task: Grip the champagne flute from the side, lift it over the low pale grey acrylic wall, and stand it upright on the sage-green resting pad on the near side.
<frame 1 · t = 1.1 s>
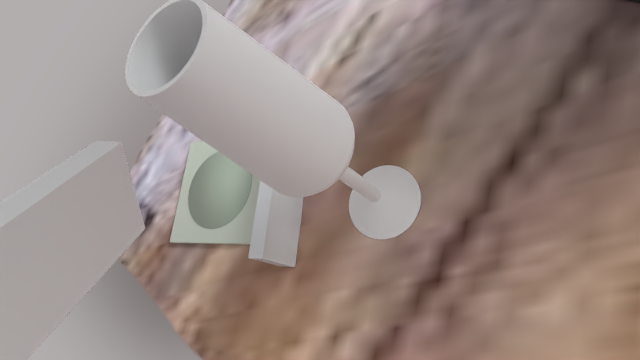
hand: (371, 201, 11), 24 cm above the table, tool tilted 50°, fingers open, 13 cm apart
resting pad: (222, 189, 47), on the table
low wall: (297, 194, 42), on the table
champagne flute: (384, 202, 37), on the table
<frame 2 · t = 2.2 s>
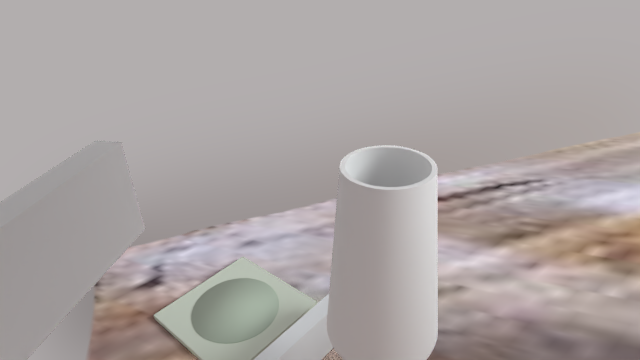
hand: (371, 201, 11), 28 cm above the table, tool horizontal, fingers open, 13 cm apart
resting pad: (236, 312, 45), on the table
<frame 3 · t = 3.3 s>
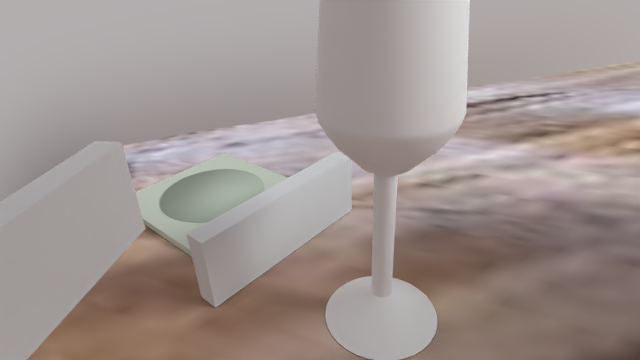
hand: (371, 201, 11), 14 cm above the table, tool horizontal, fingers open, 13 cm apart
resting pad: (214, 199, 38), on the table
low wall: (286, 247, 32), on the table
champagne flute: (380, 316, 26), on the table
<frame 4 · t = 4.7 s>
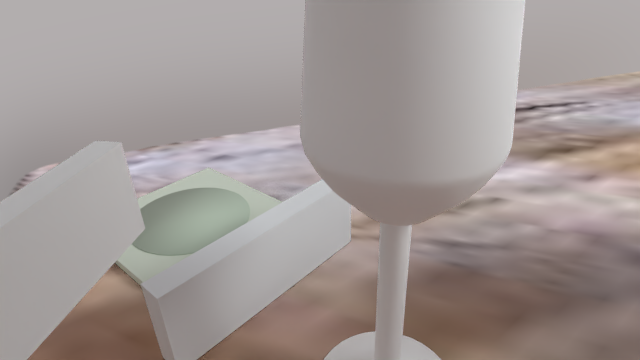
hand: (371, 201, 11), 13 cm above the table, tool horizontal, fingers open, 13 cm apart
resting pad: (191, 224, 33), on the table
low wall: (271, 290, 26), on the table
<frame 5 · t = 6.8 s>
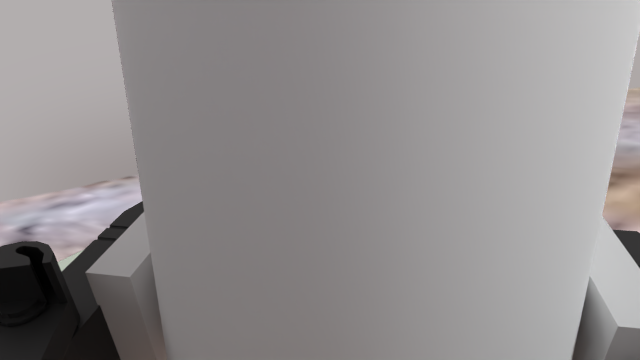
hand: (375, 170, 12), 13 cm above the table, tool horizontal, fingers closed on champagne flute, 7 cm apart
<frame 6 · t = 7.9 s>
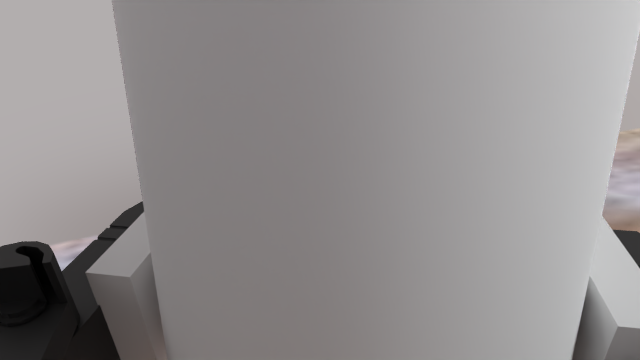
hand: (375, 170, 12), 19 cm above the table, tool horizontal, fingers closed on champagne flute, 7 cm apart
when the fingers open (15 cm above the table, at t = 13.5 s): champagne flute stays where it is, resting on resting pad.
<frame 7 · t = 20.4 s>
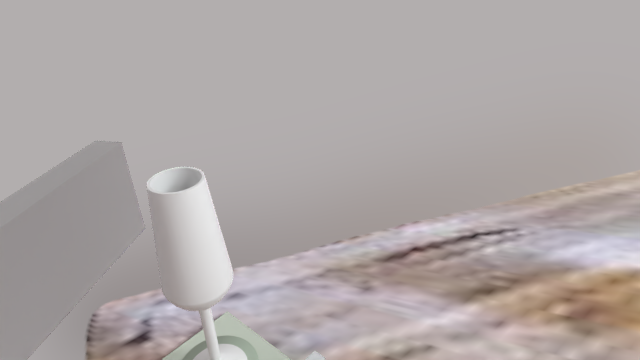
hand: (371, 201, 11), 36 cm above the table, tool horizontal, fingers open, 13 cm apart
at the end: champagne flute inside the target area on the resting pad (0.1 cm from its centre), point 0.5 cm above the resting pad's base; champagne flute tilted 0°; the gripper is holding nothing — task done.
